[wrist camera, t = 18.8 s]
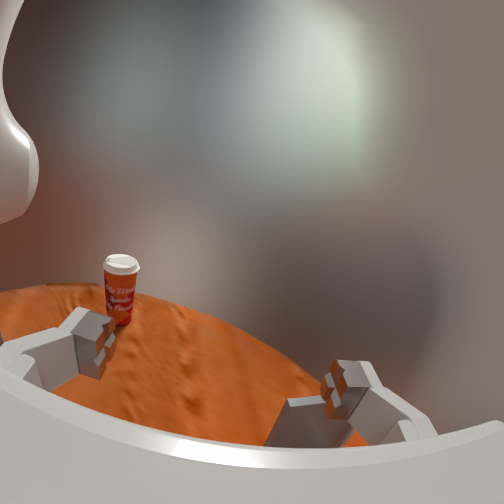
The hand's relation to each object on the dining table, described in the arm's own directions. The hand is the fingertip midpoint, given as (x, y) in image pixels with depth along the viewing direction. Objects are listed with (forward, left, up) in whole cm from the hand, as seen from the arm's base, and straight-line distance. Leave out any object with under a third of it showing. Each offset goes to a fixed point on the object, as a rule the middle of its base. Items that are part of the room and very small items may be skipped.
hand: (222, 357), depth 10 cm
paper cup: (-10, +47, -32) cm, 58 cm away
